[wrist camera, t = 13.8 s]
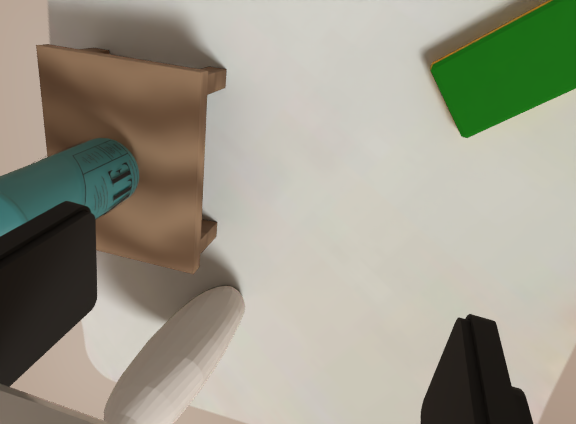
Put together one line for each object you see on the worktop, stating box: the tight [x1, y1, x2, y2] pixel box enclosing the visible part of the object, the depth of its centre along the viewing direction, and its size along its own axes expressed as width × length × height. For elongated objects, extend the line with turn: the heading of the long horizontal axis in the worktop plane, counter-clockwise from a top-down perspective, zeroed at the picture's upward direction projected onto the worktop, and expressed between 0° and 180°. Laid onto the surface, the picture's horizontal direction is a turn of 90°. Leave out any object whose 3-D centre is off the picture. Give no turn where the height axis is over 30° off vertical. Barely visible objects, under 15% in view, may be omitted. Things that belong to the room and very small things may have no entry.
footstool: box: [36, 44, 226, 274], centre depth 48 cm, size 20×16×8 cm
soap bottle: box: [104, 286, 245, 424], centre depth 46 cm, size 14×8×27 cm, turn 130°
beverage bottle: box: [0, 138, 139, 236], centre depth 36 cm, size 6×7×20 cm
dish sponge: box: [430, 0, 576, 138], centre depth 39 cm, size 7×14×2 cm, turn 121°
